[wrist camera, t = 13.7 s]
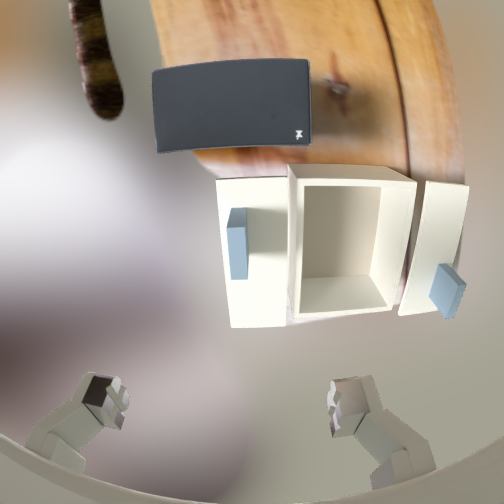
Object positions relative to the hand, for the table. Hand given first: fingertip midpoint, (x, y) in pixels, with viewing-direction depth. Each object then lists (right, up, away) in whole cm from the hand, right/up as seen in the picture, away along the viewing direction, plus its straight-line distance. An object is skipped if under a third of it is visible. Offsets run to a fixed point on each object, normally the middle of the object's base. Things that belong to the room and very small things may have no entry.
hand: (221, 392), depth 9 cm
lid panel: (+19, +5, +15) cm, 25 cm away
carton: (+10, +8, +21) cm, 25 cm away
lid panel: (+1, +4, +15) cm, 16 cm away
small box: (0, +19, +16) cm, 25 cm away
